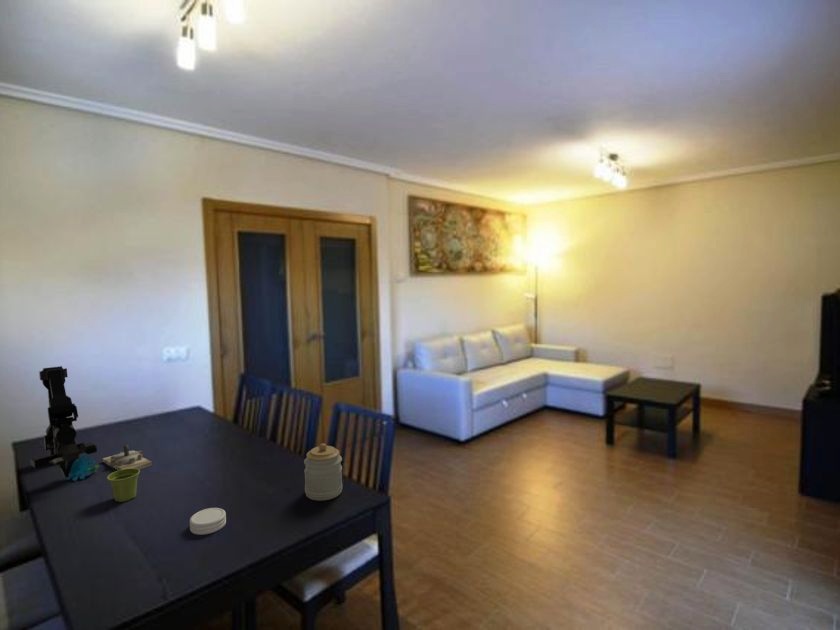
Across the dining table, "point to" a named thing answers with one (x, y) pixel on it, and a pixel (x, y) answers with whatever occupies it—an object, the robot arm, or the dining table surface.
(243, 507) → the dining table surface
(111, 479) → the plant pot
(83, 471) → the gear
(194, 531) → the white round flat block
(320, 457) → the jar
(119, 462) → the gear board
